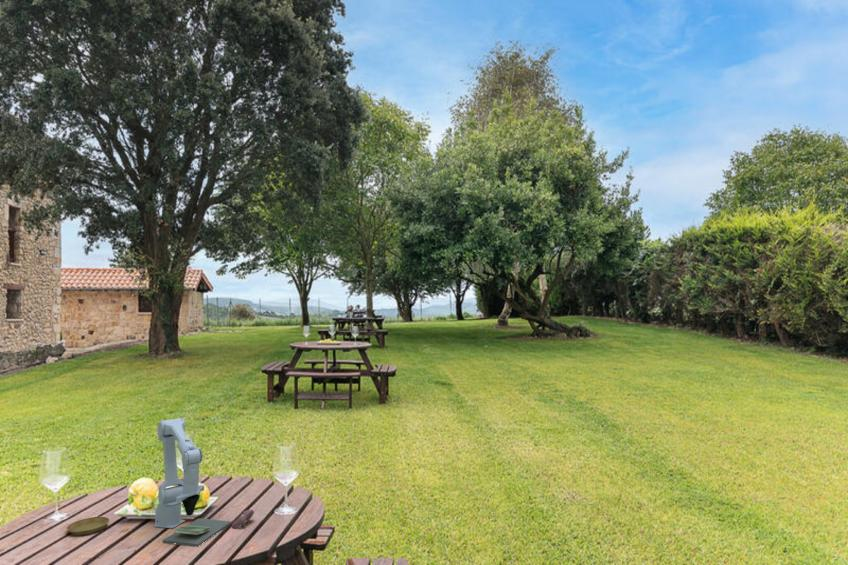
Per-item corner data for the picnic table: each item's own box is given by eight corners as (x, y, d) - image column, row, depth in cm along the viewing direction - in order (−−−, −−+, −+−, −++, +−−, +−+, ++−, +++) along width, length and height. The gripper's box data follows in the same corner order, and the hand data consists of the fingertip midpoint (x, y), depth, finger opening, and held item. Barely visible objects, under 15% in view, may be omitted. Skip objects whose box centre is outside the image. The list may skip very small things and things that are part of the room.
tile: (211, 527, 205) (210, 530, 205) (189, 525, 207) (189, 528, 207) (197, 531, 196) (196, 534, 196) (175, 529, 199) (174, 532, 198)
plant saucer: (71, 541, 197) (72, 534, 197) (62, 530, 207) (62, 524, 207) (113, 529, 208) (114, 523, 208) (103, 520, 218) (103, 513, 218)
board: (162, 542, 196) (162, 540, 196) (198, 520, 217) (198, 518, 217) (198, 546, 192) (198, 544, 192) (231, 523, 214) (231, 521, 214)
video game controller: (238, 533, 208) (246, 518, 208) (230, 527, 209) (237, 512, 209) (250, 523, 218) (257, 509, 218) (242, 518, 219) (249, 504, 219)
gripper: (187, 486, 193) (186, 522, 192) (211, 475, 207) (209, 508, 206) (171, 485, 195) (170, 521, 194) (196, 474, 209) (195, 507, 208)
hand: (189, 514), depth 200 cm, fingers closed
